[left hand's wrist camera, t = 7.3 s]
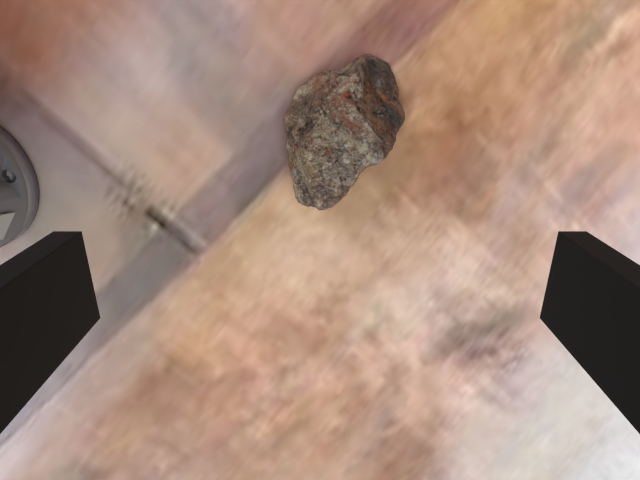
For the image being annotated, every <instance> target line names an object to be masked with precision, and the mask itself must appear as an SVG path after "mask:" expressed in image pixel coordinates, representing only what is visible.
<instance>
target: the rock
mask: <svg viewBox="0 0 640 480" xmlns="http://www.w3.org/2000/svg"><path fill="white" fill-rule="evenodd" d="M398 91H399V90H398V87H397V84H396V81H395V77H394V74H393V72H392V70H391V68H390V67H389V65H388V63H386V62H385V61H383V60H381V59H379V58H376V57H374V56H372V55H362V56H360V57H359V58H356V59H355V60H354V61H353V62H351V63H350V64H349V65H348V66H346V67H345V68H343V69H341V70H336V71H329V70H325V71H324V72H322V73H319V74H317V75H315V76H314V77H312V78H311V79H309V80H308V82H306V83H305V84H303V85H302V86H300V87H299V88H298V89H297V92H296V93H295V96H294V98H293V102H292V104H291V105H290V107H289V109H288V111H287V113H286V114H285V116H284V119H283V122H284V125H285V131H286V136H287V143H286V146H287V162H288V165H289V168H290V173H291V177H292V178H293V188H294V191H295V197H296V199H297V201H298V203H301V204H302V205H305V206H308V207H309V206H312V207H317V209H318V210H325V209H328V208H331V207H332V206H334V205H335V204H336V203H338V202H339V201H340V200H341V199H342V198H343V197H344V196H346V194H347V192H348V191H349V189H350V188H351V187H352V186H353V185H354V183H355V182H356V180H357V179H358V176H359V174H360V173H361V172H362V171H363V170H364V169H365V168H366V167H369V166H372V165H376V164H378V163H379V162H381V161H382V160H383V159H384V158H385V157H387V155H388V152H390V151H391V150H392V148H393V145H394V143H395V141H396V133H397V132H398V131H399V128H400V127H401V126H402V124H403V122H404V120H405V116H404V111H403V108H402V105H401V104H400V102H399V101H398Z"/></svg>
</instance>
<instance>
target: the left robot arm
mask: <svg viewBox="0 0 640 480" xmlns="http://www.w3.org/2000/svg"><path fill="white" fill-rule="evenodd" d="M38 201H39V190H38V183H37V179H36V175H35V173H34V170H33V167H32V165H31V163H30V161H29V159H28V157H27V156H26V154H25V153H24V151H23V149H22V148H21V147H20V146H19V144H18V143H17V142H16V141H15V140H14V139H13V137H12V136H11V135H10V134H8V133H7V132H6V131H5V130H4V129H3V128H2V127H0V247H2V246H4V245H5V244H7V243H9V242H10V241H12V240H14V239H16V238H17V237H19V236H20V235H21V234H23V233H24V232H25V231H26V230H27V228H28V227H29V226H30V225H31V223H32V221H33V219H34V217H35V215H36V212H37V208H38ZM99 319H100V315H99V310H98V306H97V301H96V296H95V292H94V287H93V283H92V278H91V273H90V269H89V264H88V259H87V255H86V250H85V246H84V241H83V236H82V232H52V233H51V234H49V235H47V236H46V237H44V238H43V239H41V240H40V241H38V242H36V243H35V244H33V245H32V246H30V247H28V248H27V249H25V250H24V251H22V252H21V253H19V254H17V255H16V256H14V257H13V258H11V259H10V260H8V261H6V262H5V263H3V264H2V265H0V434H1V432H2V431H3V430H4V429H5V428H6V427H7V425H8V424H9V423H10V422H11V421H12V420H13V418H14V417H15V416H16V415H17V414H18V413H19V411H20V410H21V409H22V408H23V407H24V406H25V405H26V403H27V402H28V401H29V400H30V399H31V398H32V396H33V395H34V394H35V393H36V392H37V391H38V389H39V388H40V387H41V386H42V385H43V384H44V382H45V381H46V380H47V379H48V378H49V377H50V376H51V374H52V373H53V372H54V371H55V370H56V369H57V367H58V366H59V365H60V364H61V363H62V362H63V360H64V359H65V358H66V357H67V356H68V355H69V353H70V352H71V351H72V350H73V349H74V348H75V346H76V345H77V344H78V343H79V342H80V341H81V340H82V338H83V337H84V336H85V335H86V334H87V333H88V331H89V330H90V329H91V328H92V327H93V326H94V324H95V323H96V322H97V321H98V320H99ZM540 319H541V320H542V321H543V322H544V323H545V324H546V326H547V327H548V328H549V329H550V330H551V331H552V333H553V334H554V335H555V336H556V337H557V338H558V340H559V341H560V342H561V343H562V344H563V345H564V346H565V348H566V349H567V350H568V351H569V352H570V353H571V355H572V356H573V357H574V358H575V359H576V360H577V362H578V363H579V364H580V365H581V366H582V367H583V369H584V370H585V371H586V372H587V373H588V374H589V376H590V377H591V378H592V379H593V380H594V381H595V382H596V384H597V385H598V386H599V387H600V388H601V389H602V391H603V392H604V393H605V394H606V395H607V396H608V398H609V399H610V400H611V401H612V402H613V403H614V405H615V406H616V407H617V408H618V409H619V410H620V411H621V413H622V414H623V415H624V416H625V417H626V418H627V420H628V421H629V422H630V423H631V424H632V425H633V427H634V428H635V429H636V430H637V431H638V432H639V434H640V265H638V264H637V263H635V262H634V261H632V260H630V259H629V258H627V257H626V256H624V255H623V254H621V253H619V252H618V251H616V250H615V249H613V248H612V247H610V246H608V245H607V244H605V243H604V242H602V241H600V240H599V239H597V238H596V237H594V236H593V235H591V234H589V233H588V232H558V236H557V241H556V246H555V250H554V255H553V259H552V264H551V269H550V273H549V278H548V283H547V287H546V292H545V296H544V301H543V306H542V310H541V315H540Z"/></svg>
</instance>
